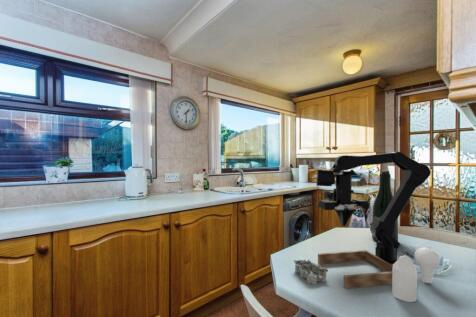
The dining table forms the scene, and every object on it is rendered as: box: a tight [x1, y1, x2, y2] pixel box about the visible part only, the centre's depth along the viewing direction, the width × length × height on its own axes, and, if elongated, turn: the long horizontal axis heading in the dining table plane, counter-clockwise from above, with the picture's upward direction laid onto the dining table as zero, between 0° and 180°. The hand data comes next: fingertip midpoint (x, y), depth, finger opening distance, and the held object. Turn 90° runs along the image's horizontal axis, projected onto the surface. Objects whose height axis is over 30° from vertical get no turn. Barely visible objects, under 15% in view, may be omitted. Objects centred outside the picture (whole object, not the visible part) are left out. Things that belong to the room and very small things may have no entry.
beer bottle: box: [371, 170, 399, 243], centre depth 108 cm, size 10×10×33 cm
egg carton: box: [293, 259, 329, 285], centre depth 77 cm, size 11×8×4 cm
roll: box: [391, 254, 418, 303], centre depth 65 cm, size 6×12×6 cm
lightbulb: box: [414, 246, 441, 284], centre depth 72 cm, size 6×6×11 cm
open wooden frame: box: [317, 249, 393, 290], centre depth 79 cm, size 20×17×4 cm
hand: (343, 225), depth 92 cm, fingers closed
